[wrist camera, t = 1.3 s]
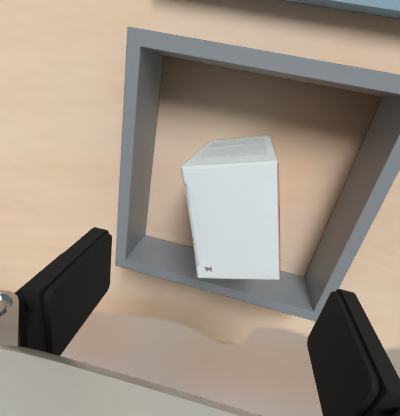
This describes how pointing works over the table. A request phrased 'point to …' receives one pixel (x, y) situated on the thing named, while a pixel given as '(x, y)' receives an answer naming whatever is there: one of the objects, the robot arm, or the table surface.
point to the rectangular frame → (345, 207)
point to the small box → (235, 208)
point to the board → (360, 6)
